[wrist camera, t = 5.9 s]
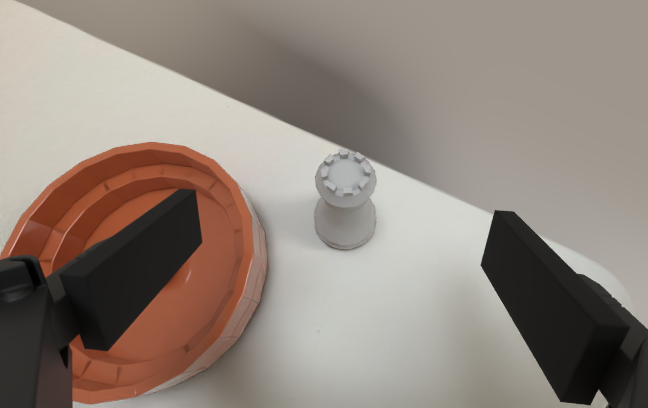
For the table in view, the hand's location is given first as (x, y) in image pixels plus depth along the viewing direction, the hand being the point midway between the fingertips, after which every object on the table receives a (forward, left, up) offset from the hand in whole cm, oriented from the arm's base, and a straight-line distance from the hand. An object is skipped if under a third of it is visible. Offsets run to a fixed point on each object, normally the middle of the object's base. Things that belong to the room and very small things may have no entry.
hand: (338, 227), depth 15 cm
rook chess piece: (+1, -3, -9) cm, 10 cm away
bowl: (+11, +6, -9) cm, 15 cm away
